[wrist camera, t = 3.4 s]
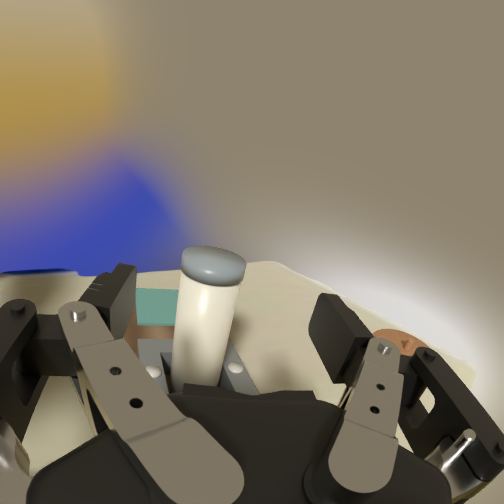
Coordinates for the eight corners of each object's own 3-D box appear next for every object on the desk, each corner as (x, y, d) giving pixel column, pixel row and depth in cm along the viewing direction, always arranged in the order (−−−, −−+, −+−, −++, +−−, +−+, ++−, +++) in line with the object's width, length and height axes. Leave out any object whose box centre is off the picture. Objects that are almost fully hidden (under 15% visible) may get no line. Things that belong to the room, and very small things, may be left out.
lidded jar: (347, 362, 42) (370, 312, 39) (405, 375, 40) (431, 327, 37) (349, 410, 31) (382, 355, 29) (417, 420, 30) (454, 369, 27)
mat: (137, 325, 37) (137, 322, 37) (135, 290, 46) (135, 287, 46) (205, 325, 42) (206, 323, 42) (191, 292, 50) (192, 290, 50)
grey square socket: (149, 437, 22) (148, 414, 20) (137, 361, 31) (137, 336, 30) (257, 425, 26) (266, 402, 25) (224, 359, 36) (229, 335, 34)
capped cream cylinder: (173, 413, 25) (189, 270, 20) (164, 378, 30) (178, 244, 25) (222, 409, 27) (256, 273, 22) (208, 376, 32) (234, 248, 27)
